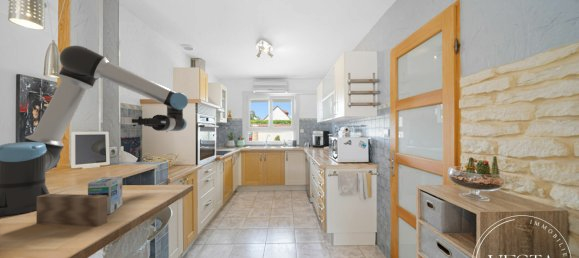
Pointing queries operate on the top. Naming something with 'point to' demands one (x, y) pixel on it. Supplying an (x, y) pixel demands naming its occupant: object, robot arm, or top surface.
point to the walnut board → (72, 209)
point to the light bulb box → (108, 191)
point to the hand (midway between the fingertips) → (123, 120)
